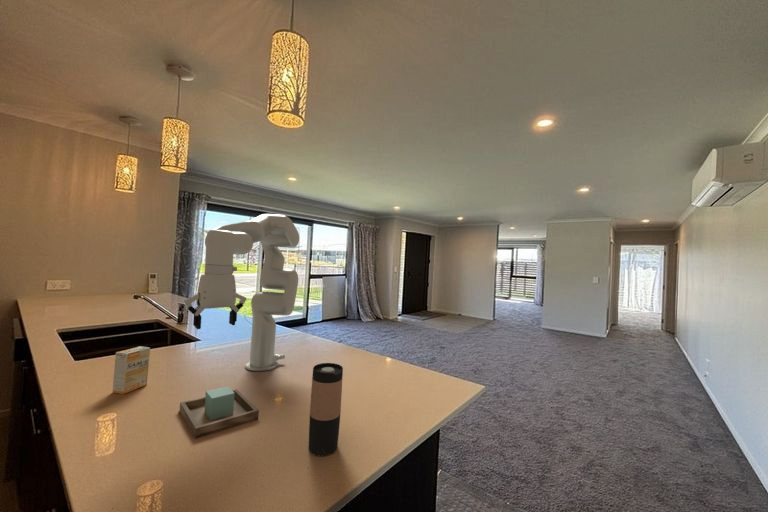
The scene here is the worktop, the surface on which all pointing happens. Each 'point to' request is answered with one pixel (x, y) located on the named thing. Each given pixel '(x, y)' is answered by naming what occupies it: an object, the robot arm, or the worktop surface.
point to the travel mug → (325, 408)
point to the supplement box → (131, 369)
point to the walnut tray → (205, 426)
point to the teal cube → (219, 402)
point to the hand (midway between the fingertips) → (215, 326)
